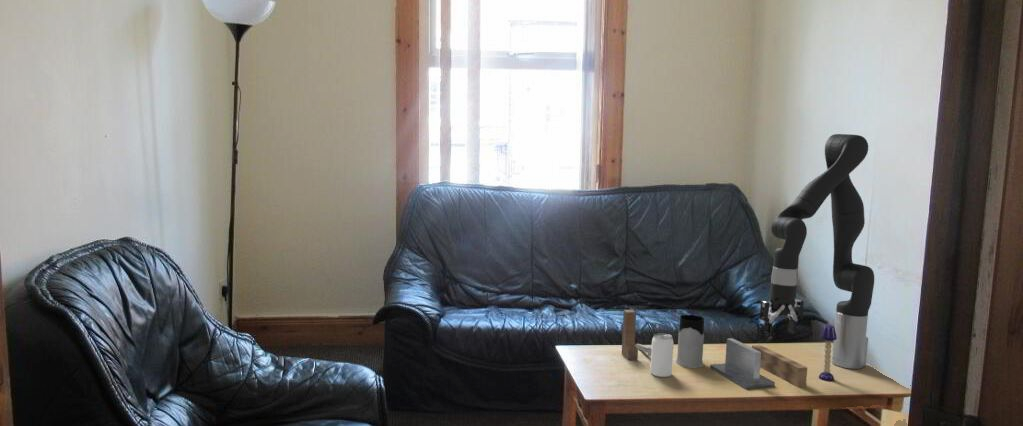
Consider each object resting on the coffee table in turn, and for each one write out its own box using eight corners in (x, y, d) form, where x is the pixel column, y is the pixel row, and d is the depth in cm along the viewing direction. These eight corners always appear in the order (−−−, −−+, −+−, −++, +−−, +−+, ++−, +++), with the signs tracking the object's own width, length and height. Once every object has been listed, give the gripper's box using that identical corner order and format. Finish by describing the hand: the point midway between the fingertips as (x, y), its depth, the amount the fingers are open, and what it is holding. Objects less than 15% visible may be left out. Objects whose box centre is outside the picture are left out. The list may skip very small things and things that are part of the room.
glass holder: (673, 365, 216) (676, 319, 214) (680, 352, 229) (682, 309, 227) (701, 369, 212) (704, 322, 211) (707, 356, 225) (709, 312, 224)
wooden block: (621, 353, 226) (623, 309, 224) (630, 353, 226) (632, 309, 224) (628, 360, 219) (630, 315, 217) (637, 359, 220) (640, 314, 218)
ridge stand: (737, 365, 216) (739, 335, 215) (774, 386, 199) (777, 353, 198) (710, 368, 213) (712, 337, 212) (745, 389, 196) (748, 355, 195)
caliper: (657, 366, 215) (658, 347, 214) (654, 366, 214) (655, 347, 214) (637, 346, 235) (638, 328, 234) (634, 346, 235) (635, 328, 234)
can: (673, 372, 209) (675, 334, 207) (669, 379, 203) (671, 340, 202) (652, 369, 211) (654, 331, 210) (647, 375, 206) (649, 337, 204)
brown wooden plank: (750, 363, 220) (751, 345, 220) (758, 362, 221) (759, 344, 220) (797, 387, 199) (798, 368, 199) (805, 386, 200) (807, 367, 200)
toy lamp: (826, 382, 204) (830, 328, 202) (813, 377, 208) (817, 324, 206) (837, 379, 206) (841, 326, 204) (823, 374, 210) (828, 322, 208)
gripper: (794, 278, 213) (790, 329, 214) (756, 280, 208) (752, 331, 210) (812, 284, 205) (807, 336, 207) (772, 285, 201) (768, 338, 203)
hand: (779, 333), depth 209 cm, fingers open, 8 cm apart
